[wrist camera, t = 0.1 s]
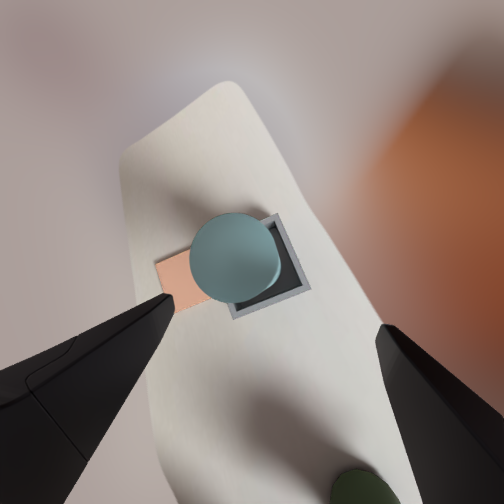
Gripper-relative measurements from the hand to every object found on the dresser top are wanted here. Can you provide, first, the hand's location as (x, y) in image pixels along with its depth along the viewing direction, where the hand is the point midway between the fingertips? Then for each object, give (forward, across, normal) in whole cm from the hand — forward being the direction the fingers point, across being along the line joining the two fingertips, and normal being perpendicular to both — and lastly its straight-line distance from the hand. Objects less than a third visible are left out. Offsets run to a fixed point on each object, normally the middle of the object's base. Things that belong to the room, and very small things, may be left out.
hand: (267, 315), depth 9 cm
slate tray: (+14, +2, +6) cm, 15 cm away
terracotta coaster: (+12, +11, +8) cm, 18 cm away
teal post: (+13, +2, +6) cm, 15 cm away
